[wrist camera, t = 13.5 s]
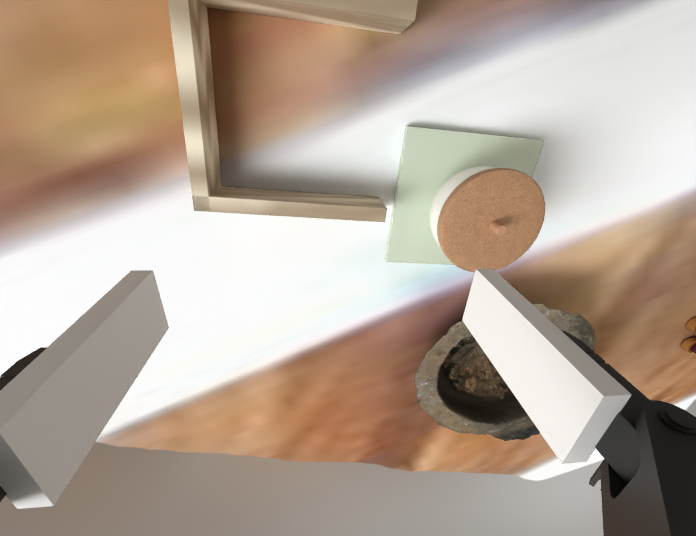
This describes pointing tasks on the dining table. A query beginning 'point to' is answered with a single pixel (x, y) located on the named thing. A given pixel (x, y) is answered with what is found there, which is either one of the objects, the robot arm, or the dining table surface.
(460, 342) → the stone bowl
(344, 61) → the dining table surface
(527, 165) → the pad
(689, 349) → the binoculars
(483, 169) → the lidded jar
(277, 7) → the cubby
